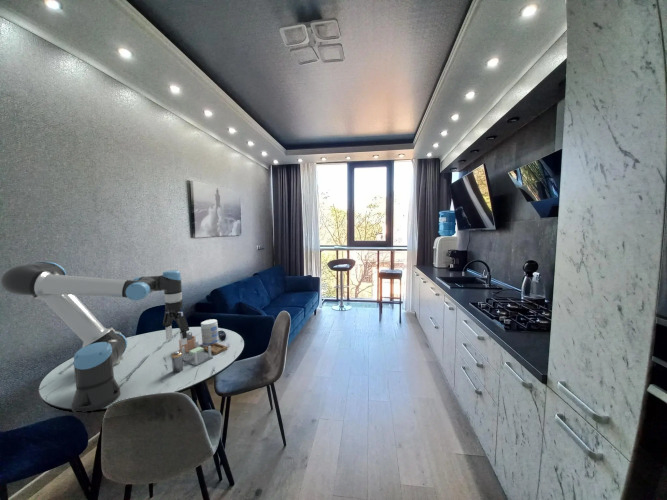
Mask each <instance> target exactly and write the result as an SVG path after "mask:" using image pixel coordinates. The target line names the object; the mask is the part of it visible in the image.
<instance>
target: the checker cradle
mask: <svg viewBox="0 0 667 500" xmlns="http://www.w3.org/2000/svg"><path fill="white" fill-rule="evenodd" d="M197 347H200V346H199V341H196V348H197ZM207 353H208V354H207ZM207 353H204V352H203V351H202V352H200V353H197V352H195V353H194V355H192V354H188V355H186V353H185V347H182V359H183V362H185V363H187V364H189V365H192V366H194V367H197V366H199V365H202V364H203V363H205V362H208V361H210V360H212V359H213V358H214V356H212V353H211V346H208V352H207Z"/></svg>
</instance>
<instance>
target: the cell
mask: <svg viewBox="0 0 667 500" xmlns="http://www.w3.org/2000/svg"><path fill="white" fill-rule="evenodd" d="M183 364H184V361H183V359H182V352H181V351H180V350H179V351H178V350H176V351H175V352H173V353H172V354H171V365H172V366H171V369H172V373H173V374H179V373H181V372H183V371H184V365H183Z"/></svg>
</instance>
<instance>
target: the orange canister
mask: <svg viewBox="0 0 667 500" xmlns="http://www.w3.org/2000/svg"><path fill="white" fill-rule="evenodd" d="M186 333H187V344H184V345H182V346H181V340H180V339H178V342H179V343H178V345H179V351H181V352H182V347H185V354H186V353H189V351H190V350H193V349H195V348H196V342H197V341H196V336H195V335H193V332H191V331H190V332H189V331H187V332H186Z"/></svg>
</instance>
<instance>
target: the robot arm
mask: <svg viewBox="0 0 667 500" xmlns="http://www.w3.org/2000/svg"><path fill="white" fill-rule="evenodd" d="M0 285H1V287H2V289H4V291H6V292H7V293H10V294H12V295H18V296H32V297H33V298H34V299H35V300H42V301H43V302H44V303H45V304H47V305H48V307H49V308H50V309H51V310H52V311H53V312H54V313H55V314H56V315H57V316H58V317H59V318H60V319H61V320H62V321H63V322H64V323H65V324H66V325H67V326H68V328H69V329H71V330H72V332H73V333H74V334H75V335H76V336H77V337H78V338H79V339H80V340H82V347H81V348H79V350H77V351H76V352H75V353H74V354H73V361H72V364H73V368H74V369H73V371H74V378H75V389H76V390H75V393H74V396H73V399H72V402H71V411H72V412H73V413H75V414H86V413H88V412H87V411H91V412H95V411H97V410H100V409H102V408H105V407H106V406H109V405H110V404H112V403H113V402H114V401H115V402H116V400H117V399H118V398H119V397H120V396H121V387H120V385H119V384H118V382H117V380H116V379H115V375H114V374H115V373H114V372H115V371H114V366H113V364H114V363H115V362H116V361H117V359H118V358H119V357H120V356H121V355H124V353H125V352H126V350H127V348H128V340H127V338H126V336H125V335H123V333H121V334H120V333H115V332H114V331H113V330H112V329H110V328H106V327H105V326H104V325H103V324H102V323H101V322H100V321H99V320H98V319H97V318H96V316H95V315H94V314H93V313H92V311H90V310H89V309H88V308H87V306H86V305H85V304H84V303H83V302H82V300H80V299H79V298H78V297H77V296H89V297H109V298H110V297H111V298H113V297H114V298H128V299H129V300H132V301H140V300H143V299H145V298H146V297H148V296H149V295H150V294H151V293H152V292H160V291H161V292H163V296H164V297H163V298H164V302H165V303H164V316H163V321H162V326H164V328H165V338H166V341H167V340H171V339H173V328H172V326H173V324H172V323H173V321H175V322H176V324H177V326H178V329H179V330H180V331H179V340H181V346H182V345H184V344H187V333H188V332H189V331H190V326H189V324H188V321H187V319H186V318H187V317H186V314H185V311H181V309H183V307H184V304H183V289H182V287H183V286H182V276H181V271H179V270H178V269H177V270H176V269H174V270H170V269H169V270H166V271H163V272H162V275H152V276H149V275H148V276H145V275H143V276H139V277H135V278H133V279H132V280H131V279H130V280H129V279H117V278H103V277H93V276H91V277H90V276H81V275H79V276H78V275H77V276H76V275H67V272H66V270H65V269H64V267H63V266H61V265H60V264H58V263H55V262H52V261H38V262H34V263H28V264H21V265H16V266H14V267H11V268H9V269H8V270H5V272H3V274H2V276H0ZM76 411H82V412H76Z"/></svg>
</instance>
